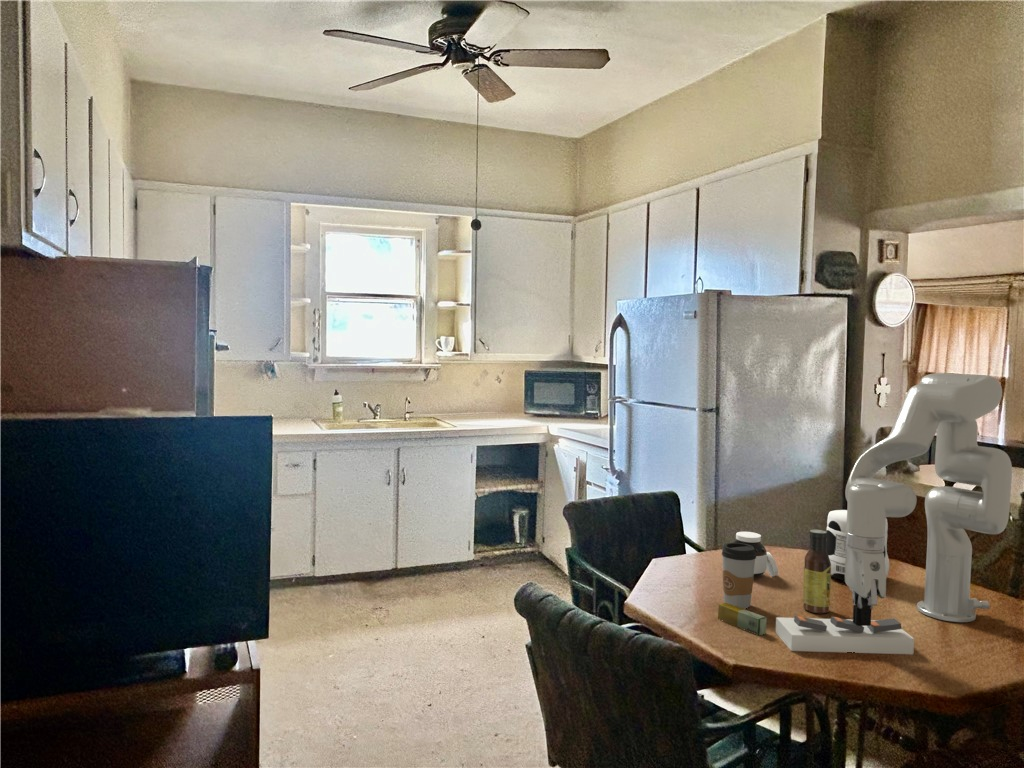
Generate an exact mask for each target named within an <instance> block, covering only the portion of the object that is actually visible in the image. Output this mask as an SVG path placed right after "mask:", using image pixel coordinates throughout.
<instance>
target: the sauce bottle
mask: <svg viewBox="0 0 1024 768" xmlns="http://www.w3.org/2000/svg"><path fill="white" fill-rule="evenodd" d="M826 539H827V530H823V529H822V530H821V529H810V530H809V550H808V551H807V552H806V554H805V556H804V567H803V582H802V585H803V588H802V589H803V590H802V593H803V594H802V602H803V609H804V610H806V611H807V612H810V613H813V614H826V613H828V612H829V611H830V606H831V580H832V576H831V562H830V559H829V556H828V553H827V550H826Z"/></svg>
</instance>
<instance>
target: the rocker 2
mask: <svg viewBox="0 0 1024 768" xmlns="http://www.w3.org/2000/svg"><path fill="white" fill-rule="evenodd" d="M877 620H878V621H871V625H870V626H867V627H868V628H869V629H870V630H871V631H872V632H873V633H876V632H884V631H891V630H898V629H902V630H903V628H902V623H901V622H899V621H898V620H897V619H896V618H895V617H894V618H887V619H886V618H885V619H881V620H880V619H877Z"/></svg>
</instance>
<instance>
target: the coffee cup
mask: <svg viewBox="0 0 1024 768" xmlns="http://www.w3.org/2000/svg"><path fill="white" fill-rule="evenodd" d="M721 556H722V588H723V589H722V590H723V603H728V604H731V605H733V606H736V607H739V608H742V609H745V610H747V609H748V607H750V606H751V601H752V593H753V587H754V586H753V585H754V579H755V578H754V565H755V559H756V552H755V551H754V547H753V546H751V545H748V544H743V543H733V542H727V543H724V545H723V548H722V549H721ZM746 608H747V609H746Z"/></svg>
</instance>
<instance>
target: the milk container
mask: <svg viewBox="0 0 1024 768" xmlns="http://www.w3.org/2000/svg"><path fill="white" fill-rule="evenodd" d="M826 523H827V524H826V532H827V538H826V550H827V553H828V556H829V559H830V562H831V578H833V579H838V580H841V581H844V582H845V562H846V553H847V547H846V530H847V509H836V510H835V509H834V510H831V511H829V512H828V515H827V520H826ZM888 527H889V525H888V519H887V518H886V521H885V543H884V552H883V553H884V558H885V567H886V579H887V578H888V575H889V572H890V560H889V555H888V552H887V551H888V548H887V547H888V544H887V542H888V529H889V528H888Z"/></svg>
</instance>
